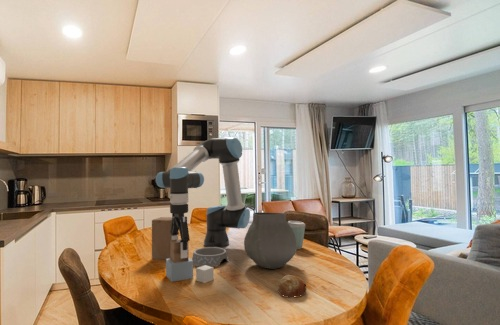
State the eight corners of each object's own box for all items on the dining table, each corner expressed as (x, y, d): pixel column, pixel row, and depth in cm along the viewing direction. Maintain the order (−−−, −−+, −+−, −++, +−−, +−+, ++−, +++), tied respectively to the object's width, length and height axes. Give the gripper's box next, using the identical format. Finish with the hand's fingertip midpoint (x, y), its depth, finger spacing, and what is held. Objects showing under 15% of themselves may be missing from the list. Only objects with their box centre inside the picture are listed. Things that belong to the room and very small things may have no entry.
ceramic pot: (301, 261, 152) (300, 209, 152) (291, 277, 129) (290, 216, 129) (253, 256, 160) (253, 208, 160) (236, 271, 137) (236, 214, 137)
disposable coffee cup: (305, 245, 182) (304, 220, 183) (306, 250, 172) (306, 223, 172) (286, 245, 183) (286, 220, 184) (287, 250, 173) (286, 223, 173)
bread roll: (280, 297, 117) (271, 278, 117) (304, 284, 118) (295, 265, 118) (286, 308, 108) (276, 288, 107) (312, 294, 109) (302, 274, 108)
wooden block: (169, 260, 155) (169, 220, 155) (151, 259, 157) (151, 219, 157) (178, 255, 164) (178, 217, 165) (160, 254, 166) (160, 216, 167)
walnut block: (184, 257, 135) (184, 238, 135) (188, 260, 130) (188, 241, 130) (170, 259, 132) (170, 240, 132) (174, 262, 127) (174, 243, 127)
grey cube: (205, 277, 130) (205, 265, 130) (213, 279, 127) (213, 267, 127) (196, 280, 126) (196, 268, 127) (204, 283, 123) (204, 270, 123)
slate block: (186, 271, 137) (186, 255, 137) (193, 278, 129) (193, 261, 129) (166, 275, 132) (166, 258, 133) (171, 281, 125) (171, 264, 125)
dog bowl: (234, 259, 156) (234, 248, 157) (212, 269, 141) (212, 257, 141) (208, 255, 165) (208, 244, 165) (184, 264, 150) (184, 252, 150)
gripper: (163, 201, 141) (163, 248, 140) (178, 207, 119) (179, 262, 118) (179, 200, 144) (179, 246, 144) (197, 205, 122) (197, 259, 122)
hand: (179, 254), depth 131 cm, fingers open, 13 cm apart
